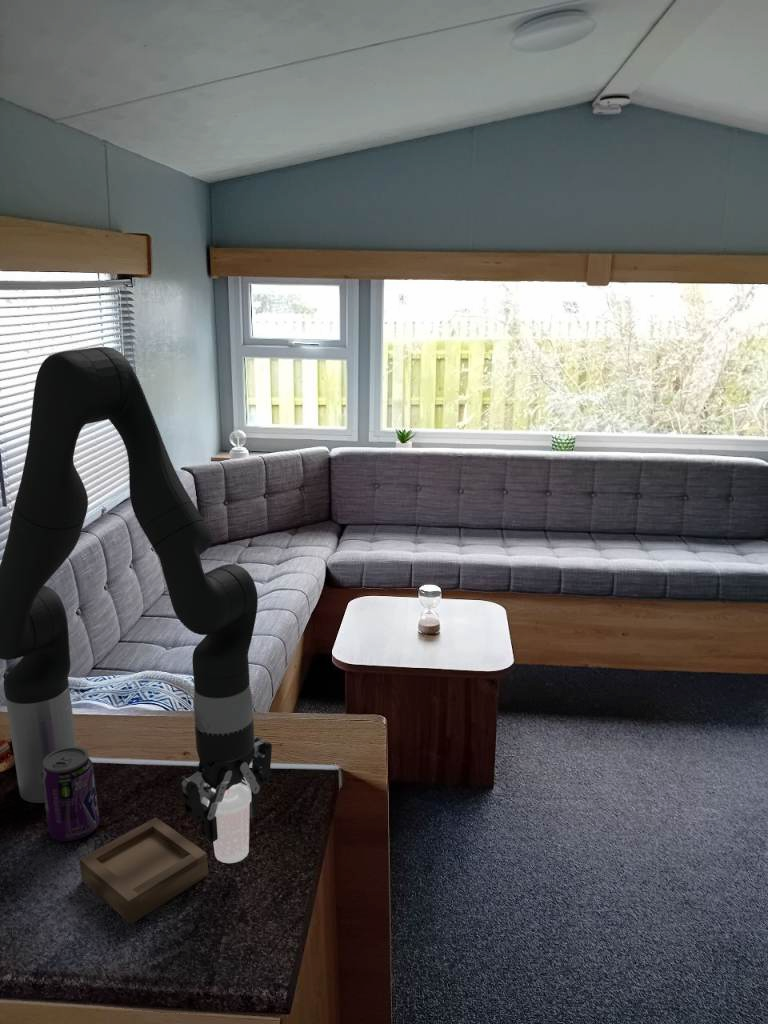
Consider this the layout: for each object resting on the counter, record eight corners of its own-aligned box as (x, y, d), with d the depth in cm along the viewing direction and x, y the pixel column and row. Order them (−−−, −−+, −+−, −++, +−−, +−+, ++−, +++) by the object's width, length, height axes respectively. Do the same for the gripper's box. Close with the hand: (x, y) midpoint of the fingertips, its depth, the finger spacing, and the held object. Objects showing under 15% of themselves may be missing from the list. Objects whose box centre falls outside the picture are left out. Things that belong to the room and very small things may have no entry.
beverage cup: (237, 831, 121) (232, 744, 117) (263, 852, 116) (259, 762, 112) (200, 851, 116) (193, 762, 112) (226, 873, 112) (220, 781, 108)
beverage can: (83, 848, 122) (74, 774, 119) (39, 842, 123) (28, 769, 120) (108, 817, 129) (100, 747, 125) (66, 812, 130) (57, 742, 127)
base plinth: (82, 881, 115) (79, 859, 114) (158, 837, 124) (155, 817, 123) (131, 924, 108) (128, 901, 107) (208, 874, 116) (206, 853, 115)
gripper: (248, 687, 118) (253, 791, 123) (159, 728, 108) (169, 840, 112) (284, 705, 113) (288, 813, 118) (195, 749, 103) (203, 866, 108)
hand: (230, 826), depth 115 cm, fingers closed on beverage cup, 6 cm apart
